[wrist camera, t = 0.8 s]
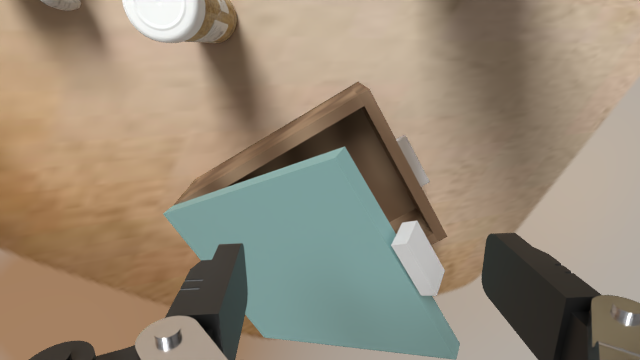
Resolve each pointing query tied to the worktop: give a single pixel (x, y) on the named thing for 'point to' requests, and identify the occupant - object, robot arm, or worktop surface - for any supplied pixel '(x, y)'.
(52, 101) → the worktop surface
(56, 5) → the mug
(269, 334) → the lid
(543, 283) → the robot arm
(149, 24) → the sprinkles bottle
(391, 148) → the storage box
